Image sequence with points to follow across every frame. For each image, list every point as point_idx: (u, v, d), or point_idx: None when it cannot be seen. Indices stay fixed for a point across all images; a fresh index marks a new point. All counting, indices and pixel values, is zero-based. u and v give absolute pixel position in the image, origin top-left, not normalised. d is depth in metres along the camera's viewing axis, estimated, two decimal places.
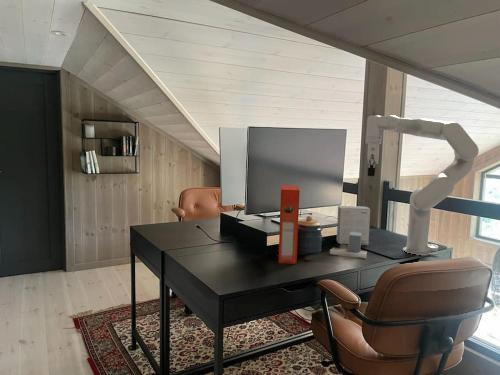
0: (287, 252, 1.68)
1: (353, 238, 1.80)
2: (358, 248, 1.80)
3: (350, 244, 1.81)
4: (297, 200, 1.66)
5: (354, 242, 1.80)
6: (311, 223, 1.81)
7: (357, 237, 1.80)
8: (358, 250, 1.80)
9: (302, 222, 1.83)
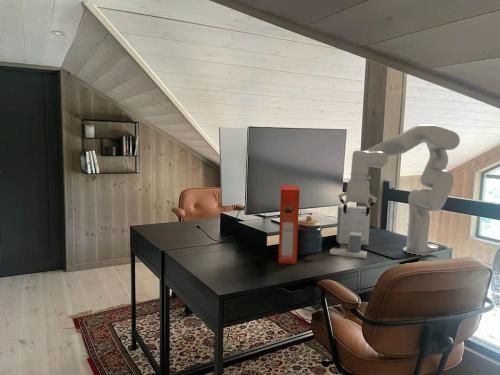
0: (287, 252, 1.68)
1: (353, 238, 1.80)
2: (358, 248, 1.80)
3: (350, 244, 1.81)
4: (297, 200, 1.66)
5: (354, 242, 1.80)
6: (311, 223, 1.81)
7: (357, 237, 1.80)
8: (358, 250, 1.80)
9: (302, 222, 1.83)
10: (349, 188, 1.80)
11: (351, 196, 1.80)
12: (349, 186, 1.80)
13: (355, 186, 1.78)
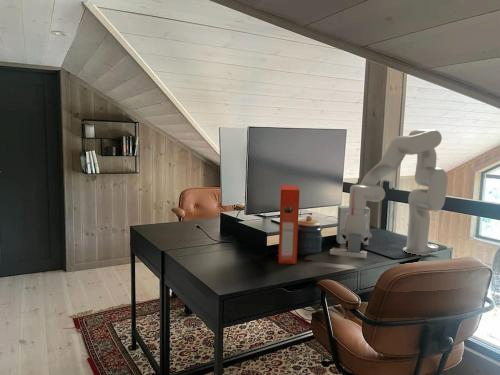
0: (287, 252, 1.68)
1: (353, 238, 1.80)
2: (358, 248, 1.80)
3: (350, 244, 1.81)
4: (297, 200, 1.66)
5: (354, 242, 1.80)
6: (311, 223, 1.81)
7: (357, 237, 1.79)
8: (358, 250, 1.80)
9: (302, 222, 1.83)
10: (347, 222, 1.82)
11: (349, 230, 1.82)
12: (347, 220, 1.81)
13: (353, 220, 1.80)
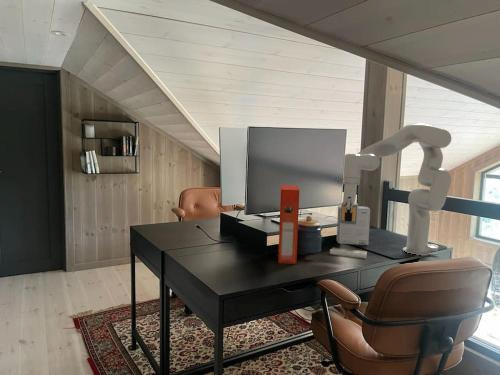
0: (287, 252, 1.68)
1: (357, 207, 1.79)
2: None
3: (356, 214, 1.78)
4: (297, 200, 1.66)
5: None
6: (311, 223, 1.81)
7: (357, 205, 1.80)
8: None
9: (302, 222, 1.83)
10: (354, 193, 1.75)
11: (354, 200, 1.77)
12: (354, 191, 1.75)
13: None
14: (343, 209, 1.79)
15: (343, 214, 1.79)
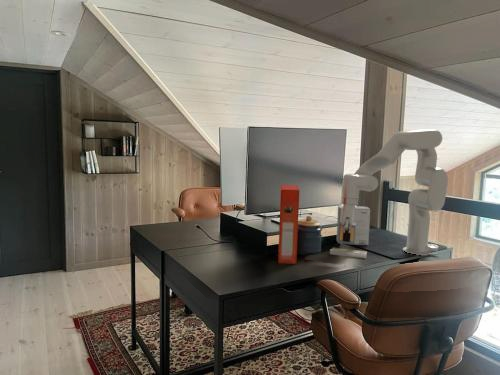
0: (287, 252, 1.68)
1: (355, 227, 1.80)
2: None
3: (354, 234, 1.79)
4: (297, 200, 1.66)
5: (355, 231, 1.81)
6: (311, 223, 1.81)
7: (355, 225, 1.82)
8: None
9: (302, 222, 1.83)
10: (353, 213, 1.76)
11: (352, 221, 1.78)
12: (353, 211, 1.76)
13: (354, 210, 1.79)
14: (342, 229, 1.80)
15: (341, 234, 1.80)
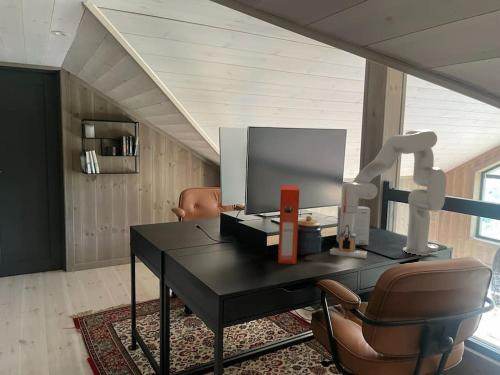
0: (287, 252, 1.68)
1: (355, 238, 1.80)
2: None
3: (354, 245, 1.80)
4: (297, 200, 1.66)
5: None
6: (311, 223, 1.81)
7: (355, 236, 1.82)
8: None
9: (302, 222, 1.83)
10: (352, 221, 1.77)
11: (352, 229, 1.78)
12: (352, 219, 1.77)
13: None
14: (342, 240, 1.80)
15: (341, 245, 1.81)
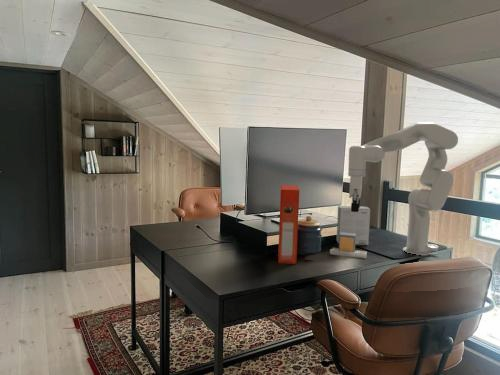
0: (287, 252, 1.68)
1: (355, 238, 1.80)
2: None
3: (354, 245, 1.80)
4: (297, 200, 1.66)
5: None
6: (311, 223, 1.81)
7: (355, 236, 1.82)
8: None
9: (302, 222, 1.83)
10: (360, 185, 1.76)
11: (360, 192, 1.78)
12: (360, 183, 1.76)
13: (361, 182, 1.78)
14: (342, 240, 1.80)
15: (341, 245, 1.81)
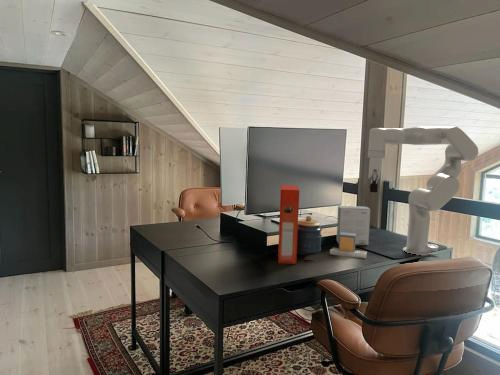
0: (287, 252, 1.68)
1: (355, 238, 1.80)
2: None
3: (354, 245, 1.80)
4: (297, 200, 1.66)
5: None
6: (311, 223, 1.81)
7: (355, 236, 1.82)
8: None
9: (302, 222, 1.83)
10: (380, 166, 1.80)
11: None
12: (380, 164, 1.80)
13: None
14: (342, 240, 1.80)
15: (341, 245, 1.81)
